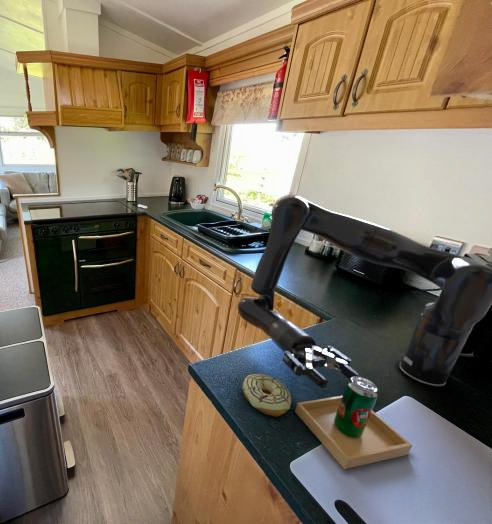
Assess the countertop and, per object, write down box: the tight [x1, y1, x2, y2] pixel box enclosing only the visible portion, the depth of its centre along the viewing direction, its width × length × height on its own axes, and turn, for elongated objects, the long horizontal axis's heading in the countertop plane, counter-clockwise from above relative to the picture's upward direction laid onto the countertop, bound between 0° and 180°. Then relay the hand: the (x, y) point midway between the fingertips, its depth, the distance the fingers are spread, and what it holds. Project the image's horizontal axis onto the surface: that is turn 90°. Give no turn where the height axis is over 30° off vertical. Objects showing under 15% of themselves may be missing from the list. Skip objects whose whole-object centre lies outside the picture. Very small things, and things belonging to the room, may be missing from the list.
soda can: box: [334, 376, 379, 438], centre depth 59 cm, size 5×5×12 cm
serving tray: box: [294, 395, 413, 470], centre depth 61 cm, size 15×13×3 cm
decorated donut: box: [241, 373, 292, 417], centre depth 68 cm, size 10×11×4 cm
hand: (342, 382), depth 62 cm, fingers open, 8 cm apart
